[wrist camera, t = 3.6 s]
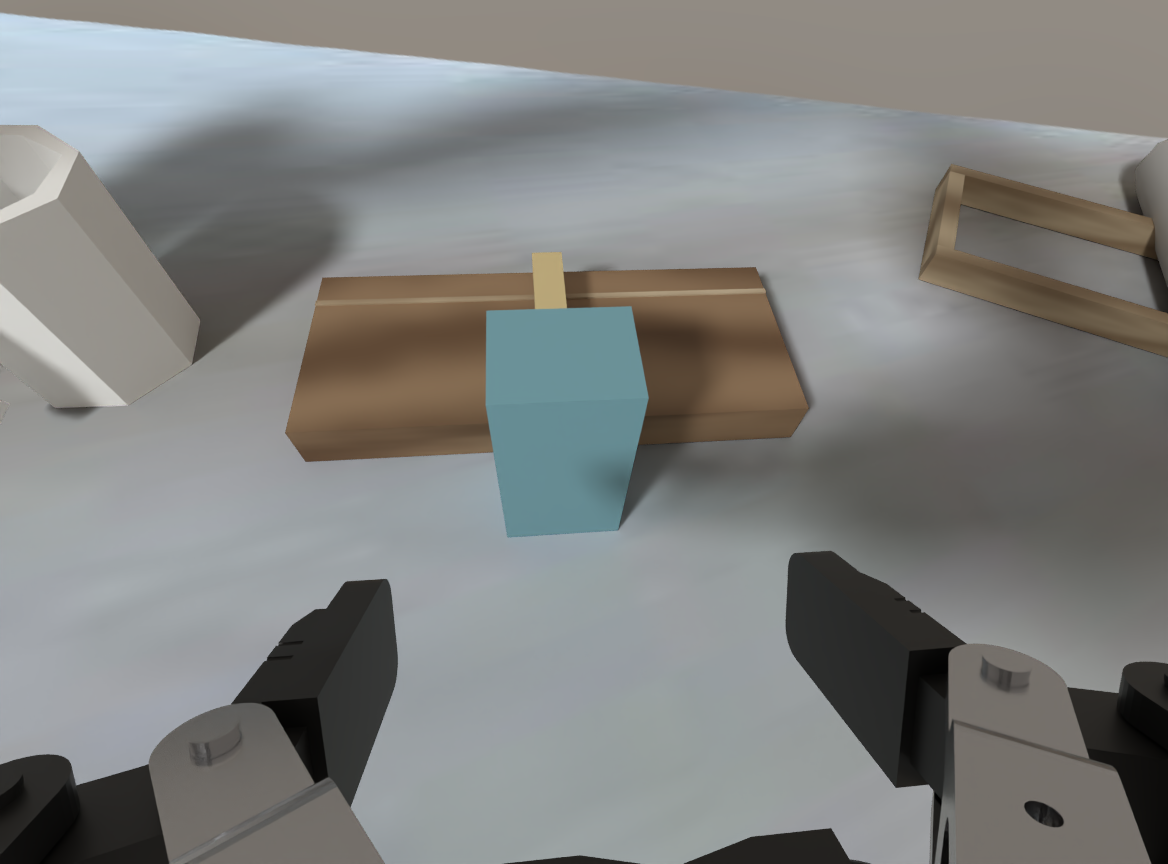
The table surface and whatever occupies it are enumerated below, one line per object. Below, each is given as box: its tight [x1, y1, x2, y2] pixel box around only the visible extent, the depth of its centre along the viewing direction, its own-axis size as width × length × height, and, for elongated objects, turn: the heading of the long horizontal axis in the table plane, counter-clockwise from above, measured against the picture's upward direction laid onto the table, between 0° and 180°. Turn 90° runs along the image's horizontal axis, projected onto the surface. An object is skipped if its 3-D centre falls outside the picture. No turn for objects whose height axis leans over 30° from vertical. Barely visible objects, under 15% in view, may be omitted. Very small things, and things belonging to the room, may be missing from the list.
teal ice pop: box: [486, 252, 649, 537], centre depth 25 cm, size 14×5×10 cm, turn 5°
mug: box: [0, 125, 201, 424], centre depth 25 cm, size 12×9×10 cm
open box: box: [285, 267, 809, 462], centre depth 30 cm, size 10×24×3 cm, turn 95°
